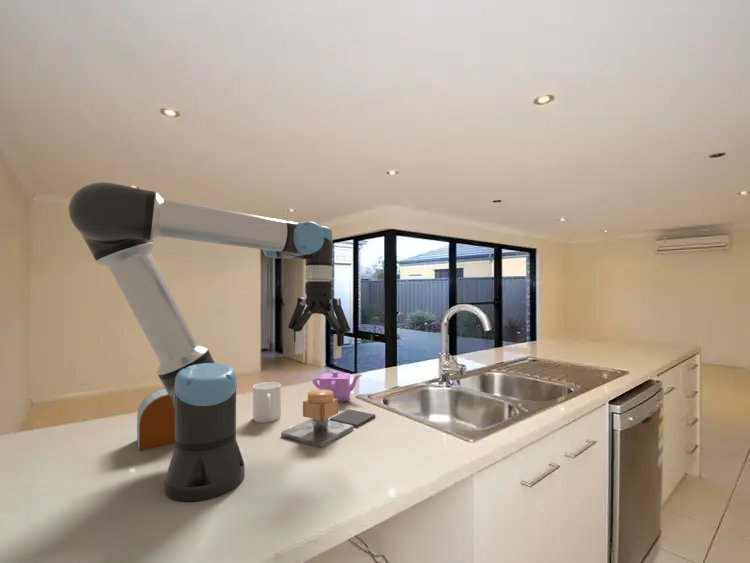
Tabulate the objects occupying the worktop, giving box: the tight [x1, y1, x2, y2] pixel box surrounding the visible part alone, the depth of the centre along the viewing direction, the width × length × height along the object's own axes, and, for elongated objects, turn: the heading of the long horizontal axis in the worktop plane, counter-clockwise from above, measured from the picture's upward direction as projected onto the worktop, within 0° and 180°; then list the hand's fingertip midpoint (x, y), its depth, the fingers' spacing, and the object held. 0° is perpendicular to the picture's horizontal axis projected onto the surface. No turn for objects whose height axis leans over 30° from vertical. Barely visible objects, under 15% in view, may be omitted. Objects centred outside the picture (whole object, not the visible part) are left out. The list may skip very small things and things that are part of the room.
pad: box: [329, 409, 376, 428], centre depth 114 cm, size 10×10×1 cm
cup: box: [252, 381, 282, 424], centre depth 114 cm, size 8×12×10 cm
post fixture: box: [280, 418, 354, 449], centre depth 103 cm, size 14×14×9 cm
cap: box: [302, 389, 339, 421], centre depth 103 cm, size 7×7×6 cm
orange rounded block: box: [136, 387, 175, 451], centre depth 101 cm, size 15×8×14 cm, turn 126°
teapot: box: [312, 370, 363, 404], centre depth 134 cm, size 18×14×10 cm
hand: (317, 355), depth 106 cm, fingers open, 13 cm apart
